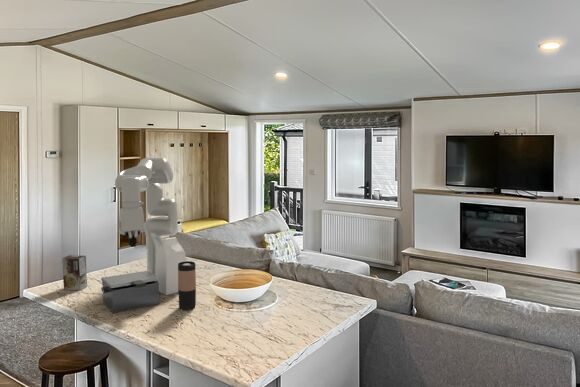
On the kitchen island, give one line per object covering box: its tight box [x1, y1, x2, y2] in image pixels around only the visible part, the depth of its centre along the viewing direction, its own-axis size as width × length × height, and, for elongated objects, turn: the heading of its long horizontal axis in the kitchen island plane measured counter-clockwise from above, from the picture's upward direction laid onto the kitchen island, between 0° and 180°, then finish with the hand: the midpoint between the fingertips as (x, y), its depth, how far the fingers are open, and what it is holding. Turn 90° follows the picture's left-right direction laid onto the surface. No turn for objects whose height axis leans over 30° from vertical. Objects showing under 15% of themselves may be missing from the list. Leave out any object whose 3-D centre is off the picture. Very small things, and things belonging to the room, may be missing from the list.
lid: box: [100, 270, 160, 288], centre depth 200 cm, size 21×25×2 cm
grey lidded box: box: [100, 280, 160, 314], centre depth 204 cm, size 24×18×10 cm
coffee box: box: [61, 254, 88, 291], centre depth 223 cm, size 9×6×16 cm
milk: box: [155, 236, 187, 296], centre depth 222 cm, size 12×12×26 cm
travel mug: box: [177, 260, 197, 311], centre depth 198 cm, size 8×8×20 cm
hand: (132, 246), depth 198 cm, fingers closed
